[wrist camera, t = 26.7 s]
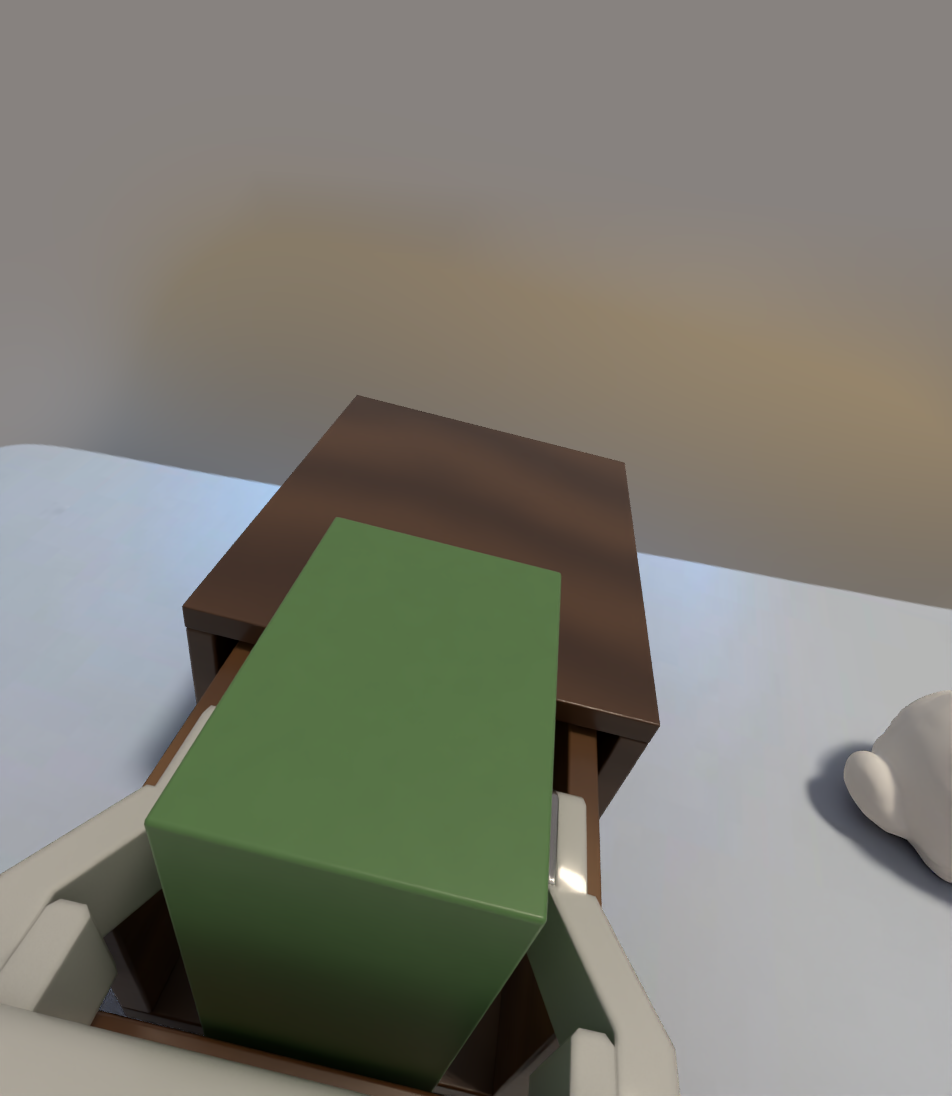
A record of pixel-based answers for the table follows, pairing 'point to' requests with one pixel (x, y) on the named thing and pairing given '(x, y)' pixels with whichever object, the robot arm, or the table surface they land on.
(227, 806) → the block
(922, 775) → the rabbit
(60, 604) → the table surface
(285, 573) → the cabinet
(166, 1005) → the drawer
